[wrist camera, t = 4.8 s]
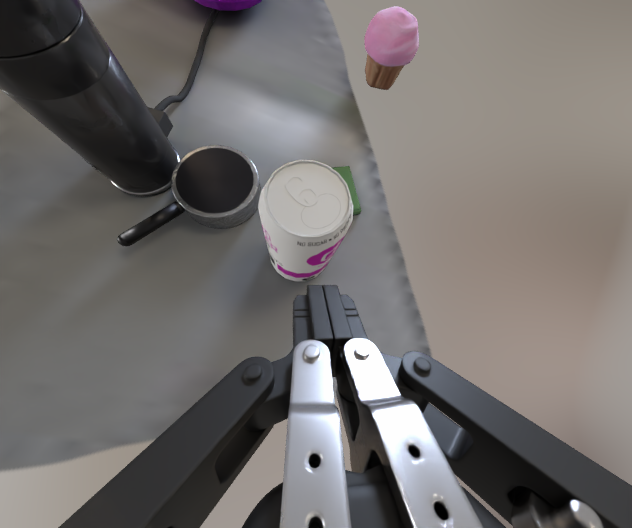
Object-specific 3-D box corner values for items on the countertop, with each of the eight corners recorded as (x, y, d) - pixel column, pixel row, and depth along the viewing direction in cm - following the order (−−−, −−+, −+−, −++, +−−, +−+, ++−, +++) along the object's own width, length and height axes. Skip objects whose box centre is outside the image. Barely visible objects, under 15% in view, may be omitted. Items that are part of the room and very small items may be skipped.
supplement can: (339, 256, 33) (378, 201, 19) (297, 294, 31) (305, 266, 17) (301, 217, 34) (310, 137, 20) (257, 252, 32) (233, 191, 18)
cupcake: (401, 101, 43) (434, 36, 33) (356, 97, 42) (376, 29, 32) (395, 66, 45) (424, -4, 36) (352, 61, 44) (370, -12, 35)
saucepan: (231, 150, 36) (225, 131, 32) (276, 200, 35) (275, 186, 31) (110, 220, 31) (87, 206, 27) (157, 282, 30) (139, 276, 26)
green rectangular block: (326, 171, 37) (328, 166, 36) (347, 169, 38) (349, 164, 36) (337, 216, 35) (339, 212, 34) (359, 214, 36) (362, 209, 34)
